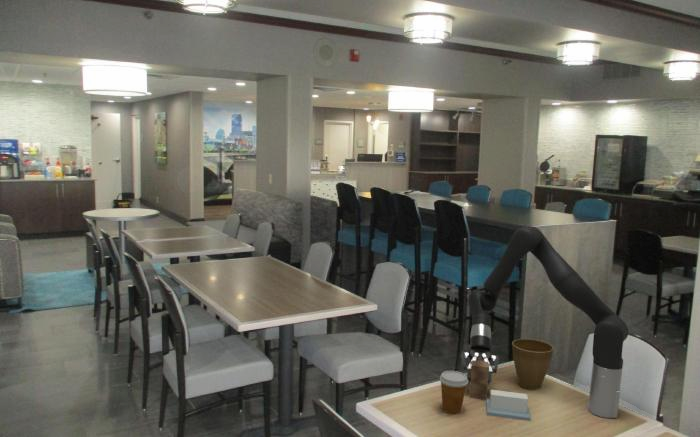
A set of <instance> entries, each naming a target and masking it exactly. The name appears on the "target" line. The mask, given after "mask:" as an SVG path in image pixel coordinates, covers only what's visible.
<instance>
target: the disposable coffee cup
mask: <svg viewBox="0 0 700 437" xmlns="http://www.w3.org/2000/svg"><path fill="white" fill-rule="evenodd" d="M439 381H440V385H441V386H440V387H441V389H440V390H441V404H442V405H441V406H442V411H444V412H446V413H449V414H459V413H461V412H462V408H463V403H464V400H465V394H466V388H467V385H468V384H469V380H468V379H467V374H464V373H463V372H461V371H457V370H456V371H455V370H445V371H442V373H441V374H440V376H439Z"/></svg>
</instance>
